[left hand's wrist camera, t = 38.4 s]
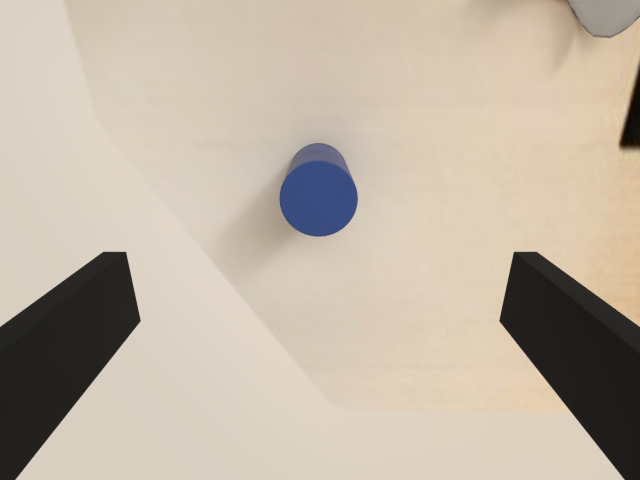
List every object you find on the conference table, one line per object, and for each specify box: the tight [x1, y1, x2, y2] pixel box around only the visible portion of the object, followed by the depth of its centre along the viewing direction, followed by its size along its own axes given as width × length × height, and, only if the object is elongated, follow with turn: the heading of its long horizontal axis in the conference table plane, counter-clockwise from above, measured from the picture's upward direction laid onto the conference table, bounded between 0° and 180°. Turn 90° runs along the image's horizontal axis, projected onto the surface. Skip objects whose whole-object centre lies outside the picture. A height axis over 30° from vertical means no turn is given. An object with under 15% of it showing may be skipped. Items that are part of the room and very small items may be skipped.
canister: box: [280, 143, 358, 236], centre depth 30 cm, size 5×5×10 cm
